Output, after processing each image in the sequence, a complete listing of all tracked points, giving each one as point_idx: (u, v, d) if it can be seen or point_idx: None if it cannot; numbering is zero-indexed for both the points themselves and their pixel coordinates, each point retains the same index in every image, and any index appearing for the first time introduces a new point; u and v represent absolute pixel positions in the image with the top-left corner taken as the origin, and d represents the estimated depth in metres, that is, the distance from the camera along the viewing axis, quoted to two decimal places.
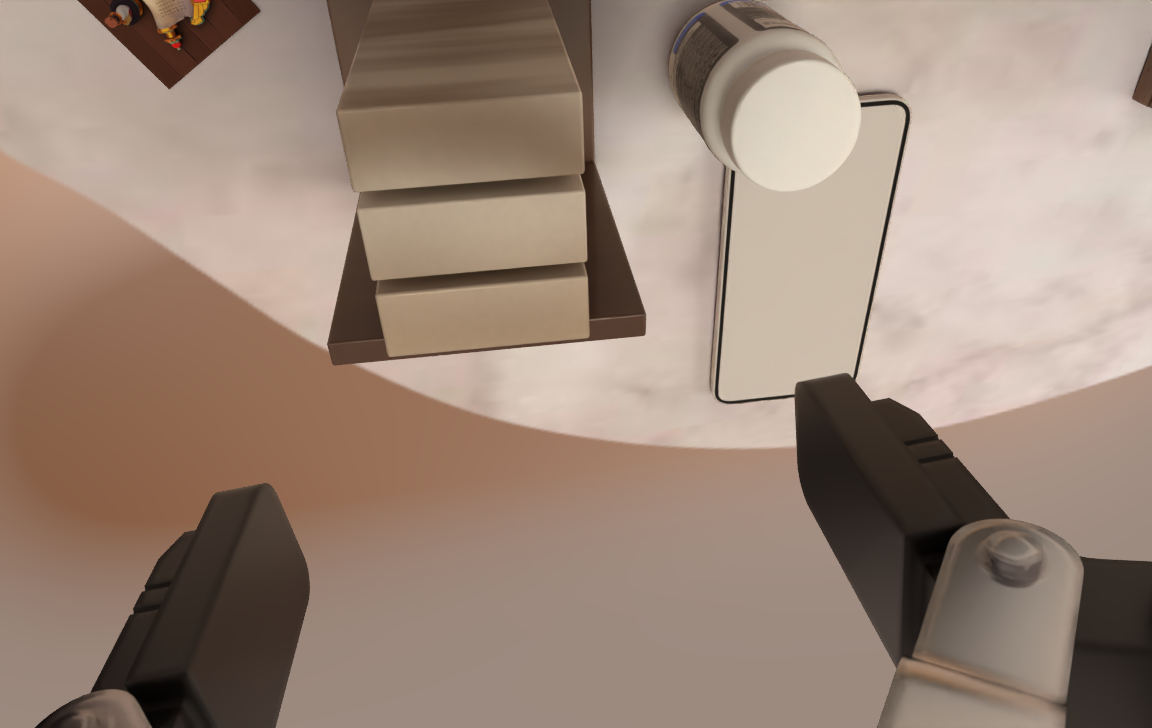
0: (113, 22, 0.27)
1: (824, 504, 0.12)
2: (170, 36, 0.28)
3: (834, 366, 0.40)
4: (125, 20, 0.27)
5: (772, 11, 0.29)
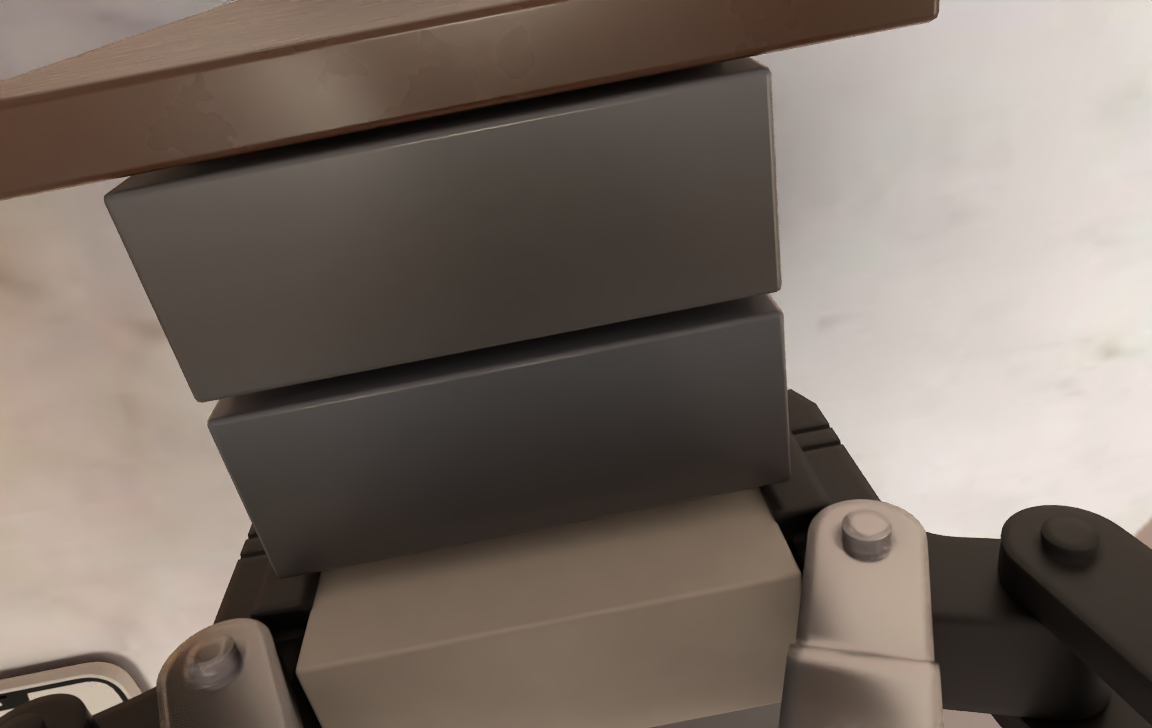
0: None
1: None
2: None
3: None
4: None
5: None
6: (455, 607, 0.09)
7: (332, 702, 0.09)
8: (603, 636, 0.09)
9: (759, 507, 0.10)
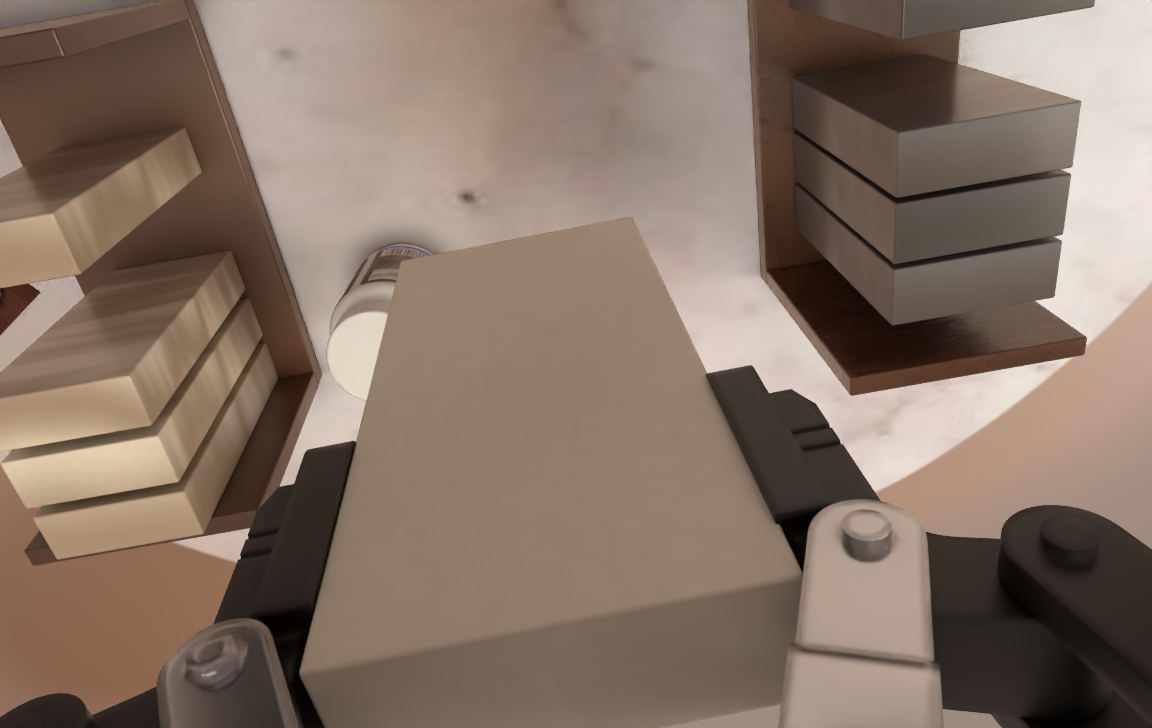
0: None
1: None
2: None
3: None
4: None
5: (409, 256, 0.38)
6: (459, 608, 0.09)
7: (336, 704, 0.09)
8: (607, 639, 0.09)
9: (762, 509, 0.10)
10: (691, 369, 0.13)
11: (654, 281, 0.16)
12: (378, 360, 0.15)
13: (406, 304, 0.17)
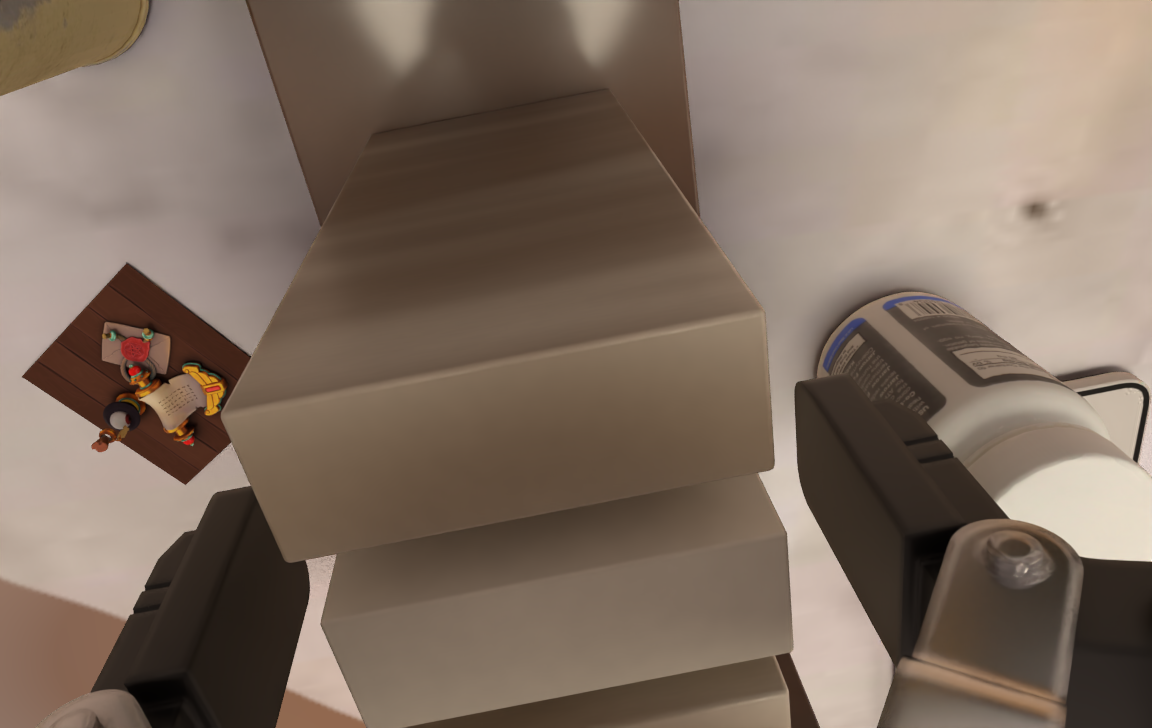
0: (103, 446, 0.21)
1: (824, 504, 0.12)
2: (180, 433, 0.22)
3: None
4: (120, 435, 0.21)
5: (962, 317, 0.21)
6: (467, 565, 0.10)
7: (354, 653, 0.10)
8: (605, 592, 0.10)
9: (749, 475, 0.11)
10: None
11: None
12: None
13: None
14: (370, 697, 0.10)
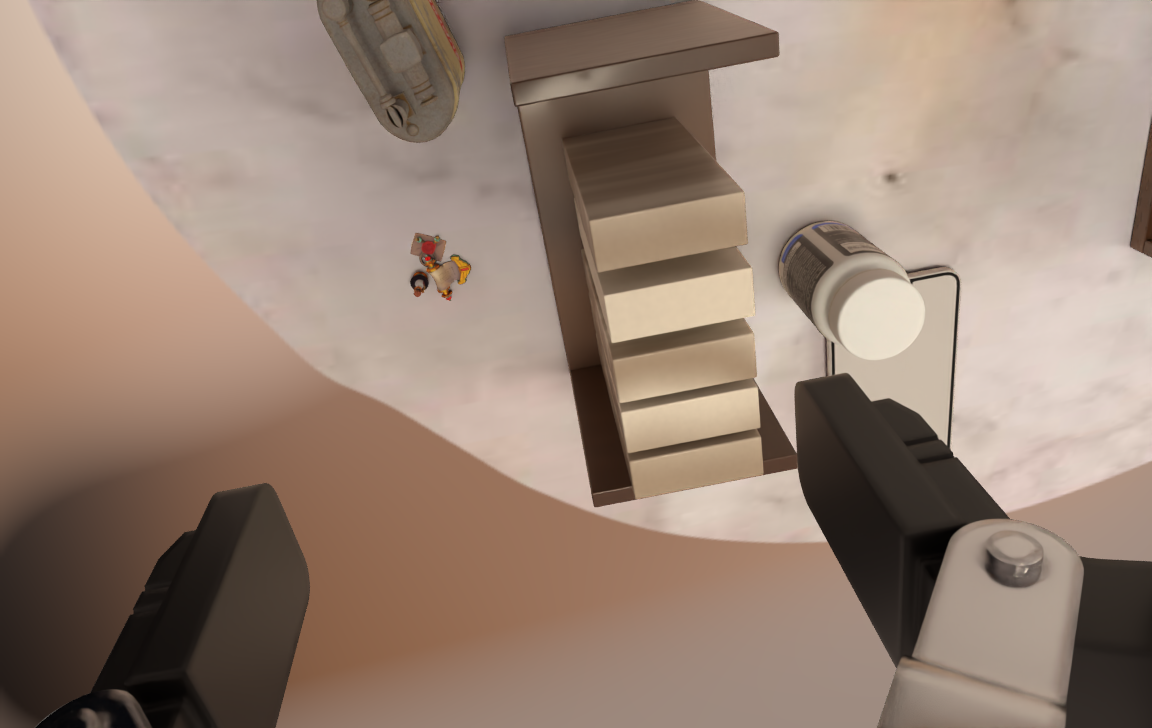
0: (418, 293, 0.41)
1: (824, 504, 0.12)
2: (445, 293, 0.43)
3: None
4: (423, 290, 0.42)
5: (850, 231, 0.42)
6: (648, 281, 0.30)
7: (612, 308, 0.30)
8: (693, 287, 0.30)
9: (740, 256, 0.31)
10: None
11: None
12: None
13: None
14: (614, 326, 0.31)
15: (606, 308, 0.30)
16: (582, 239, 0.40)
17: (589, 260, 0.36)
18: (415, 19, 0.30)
